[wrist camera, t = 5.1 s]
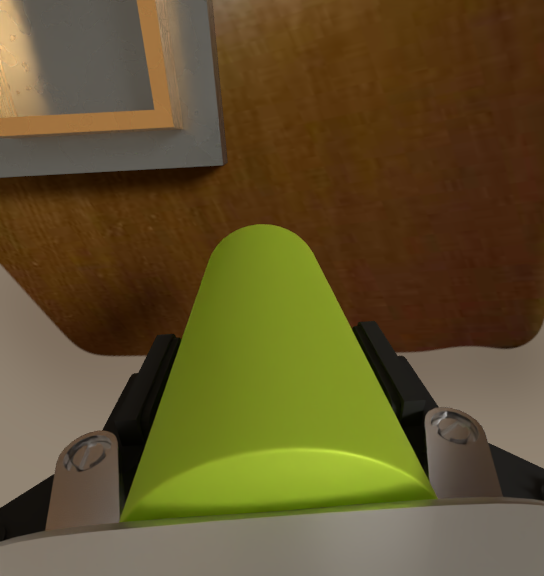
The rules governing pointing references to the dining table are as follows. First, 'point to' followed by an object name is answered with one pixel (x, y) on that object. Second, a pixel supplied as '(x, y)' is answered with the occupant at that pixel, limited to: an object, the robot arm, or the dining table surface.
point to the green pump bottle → (270, 398)
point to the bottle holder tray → (108, 86)
